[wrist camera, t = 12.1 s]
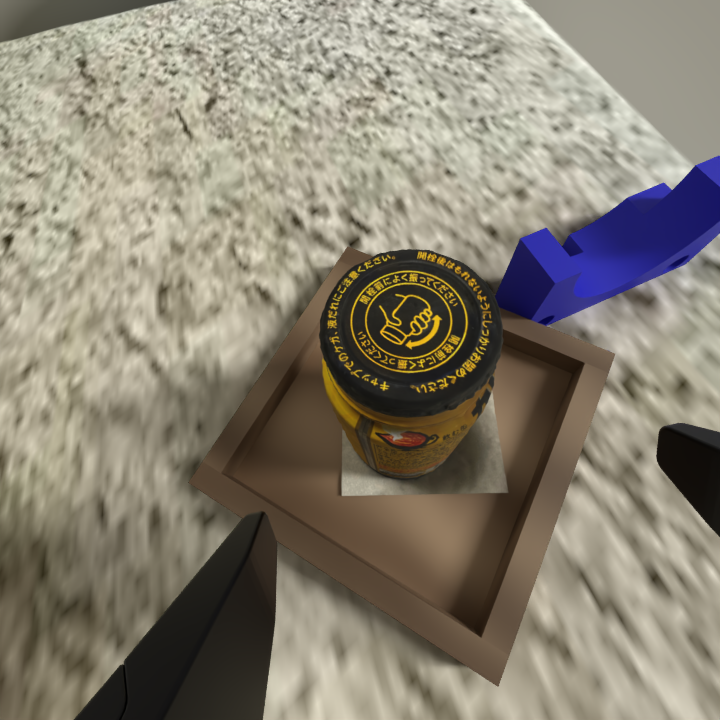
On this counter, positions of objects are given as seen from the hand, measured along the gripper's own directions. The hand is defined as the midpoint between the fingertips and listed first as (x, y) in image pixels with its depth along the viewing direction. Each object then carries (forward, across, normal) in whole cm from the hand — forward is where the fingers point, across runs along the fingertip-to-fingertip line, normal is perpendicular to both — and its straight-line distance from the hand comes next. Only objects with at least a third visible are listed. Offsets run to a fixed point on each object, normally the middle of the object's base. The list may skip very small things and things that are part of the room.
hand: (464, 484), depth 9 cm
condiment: (+12, -1, +6) cm, 13 cm away
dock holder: (+12, 0, +6) cm, 14 cm away
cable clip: (+18, -14, +1) cm, 22 cm away
